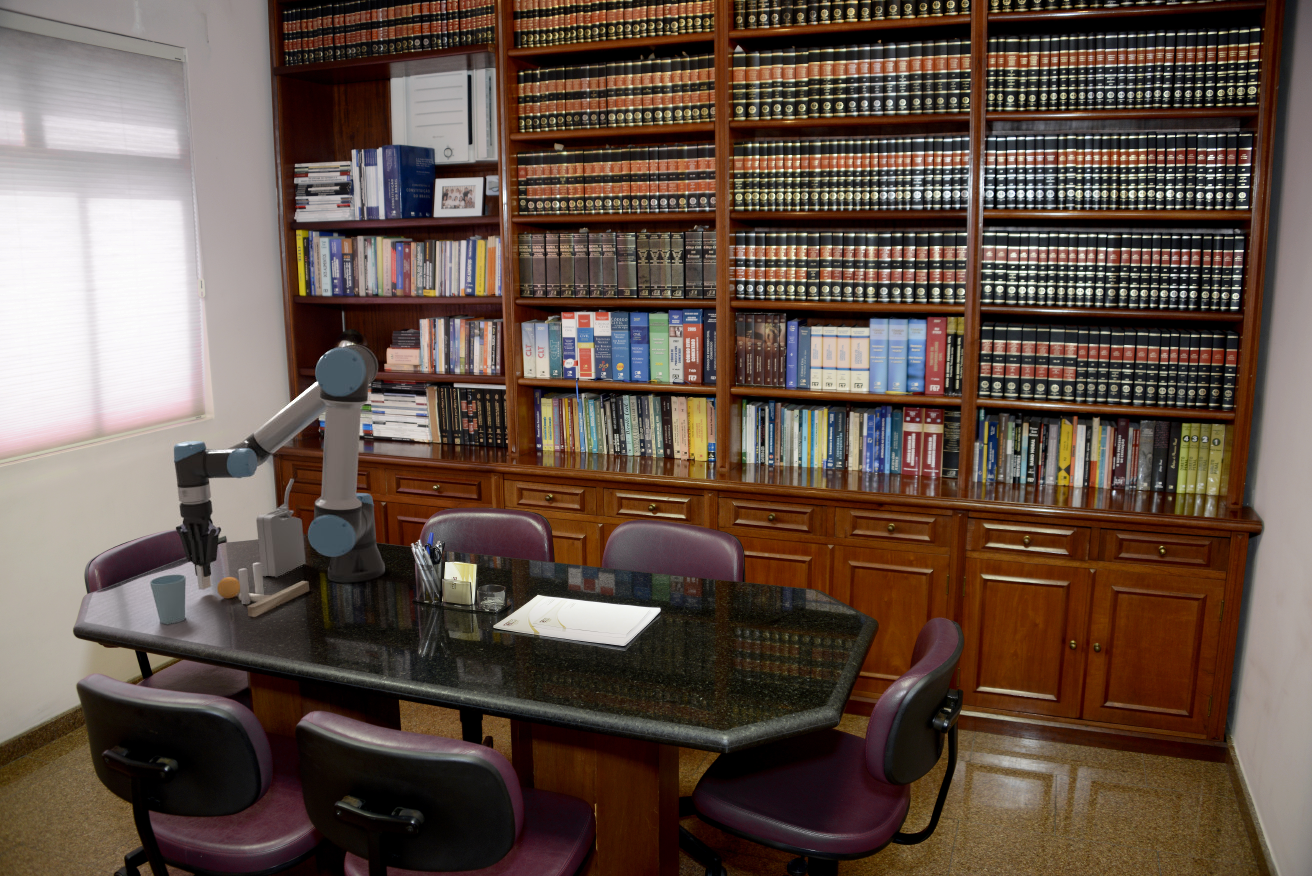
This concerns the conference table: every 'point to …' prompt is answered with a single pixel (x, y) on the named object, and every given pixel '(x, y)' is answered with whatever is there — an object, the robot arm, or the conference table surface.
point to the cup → (169, 597)
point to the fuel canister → (280, 539)
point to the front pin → (255, 597)
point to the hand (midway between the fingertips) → (204, 587)
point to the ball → (228, 587)
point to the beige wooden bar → (278, 598)
